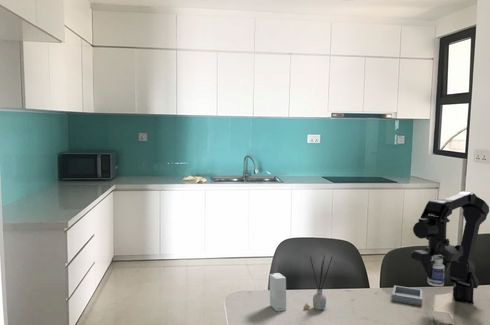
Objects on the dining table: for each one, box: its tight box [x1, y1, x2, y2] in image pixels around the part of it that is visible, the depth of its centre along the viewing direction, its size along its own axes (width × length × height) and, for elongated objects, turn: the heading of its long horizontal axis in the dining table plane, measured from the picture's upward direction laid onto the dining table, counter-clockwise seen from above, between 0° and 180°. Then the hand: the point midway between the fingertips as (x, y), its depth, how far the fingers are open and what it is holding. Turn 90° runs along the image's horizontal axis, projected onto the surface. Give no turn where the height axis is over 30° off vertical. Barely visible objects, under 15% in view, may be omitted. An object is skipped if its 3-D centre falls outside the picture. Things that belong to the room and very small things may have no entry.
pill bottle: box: [427, 257, 445, 287], centre depth 144 cm, size 5×5×10 cm
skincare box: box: [269, 272, 287, 312], centre depth 145 cm, size 6×4×12 cm
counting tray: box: [391, 284, 423, 307], centre depth 155 cm, size 11×11×2 cm
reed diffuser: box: [303, 254, 333, 310], centre depth 144 cm, size 10×7×20 cm
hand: (435, 277), depth 144 cm, fingers closed on pill bottle, 5 cm apart
